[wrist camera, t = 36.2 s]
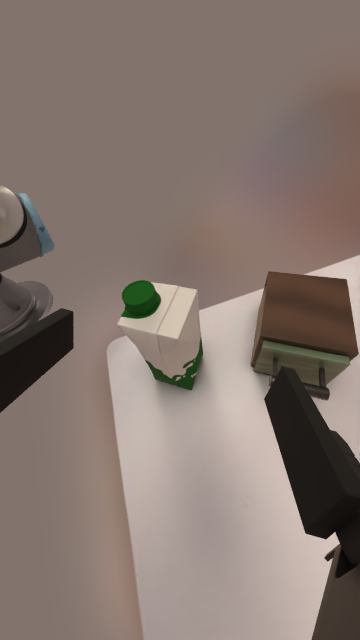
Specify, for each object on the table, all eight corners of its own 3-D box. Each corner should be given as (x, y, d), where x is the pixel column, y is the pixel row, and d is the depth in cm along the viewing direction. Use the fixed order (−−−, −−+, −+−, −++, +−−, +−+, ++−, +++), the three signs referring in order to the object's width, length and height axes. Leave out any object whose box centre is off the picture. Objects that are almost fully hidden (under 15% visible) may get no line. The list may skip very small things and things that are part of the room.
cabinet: (325, 383, 34) (358, 354, 26) (250, 366, 38) (260, 335, 30) (321, 317, 42) (346, 279, 34) (259, 308, 45) (268, 271, 37)
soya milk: (166, 342, 43) (137, 265, 27) (208, 353, 41) (204, 273, 25) (148, 382, 39) (101, 317, 23) (195, 397, 36) (179, 334, 20)
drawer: (325, 415, 31) (355, 398, 24) (250, 394, 34) (259, 375, 27) (320, 324, 40) (341, 293, 33) (261, 314, 43) (270, 284, 36)
